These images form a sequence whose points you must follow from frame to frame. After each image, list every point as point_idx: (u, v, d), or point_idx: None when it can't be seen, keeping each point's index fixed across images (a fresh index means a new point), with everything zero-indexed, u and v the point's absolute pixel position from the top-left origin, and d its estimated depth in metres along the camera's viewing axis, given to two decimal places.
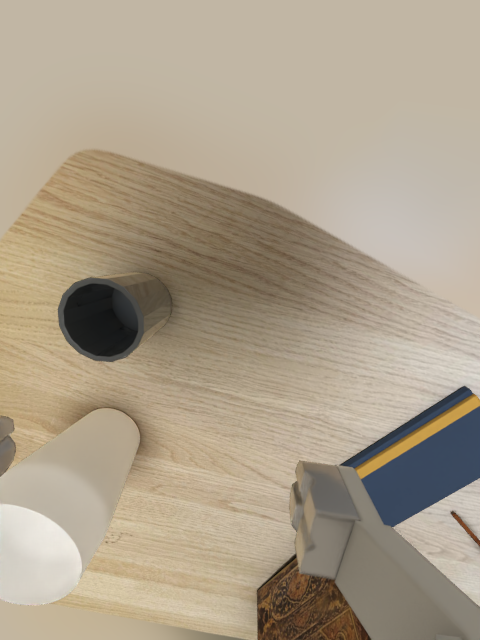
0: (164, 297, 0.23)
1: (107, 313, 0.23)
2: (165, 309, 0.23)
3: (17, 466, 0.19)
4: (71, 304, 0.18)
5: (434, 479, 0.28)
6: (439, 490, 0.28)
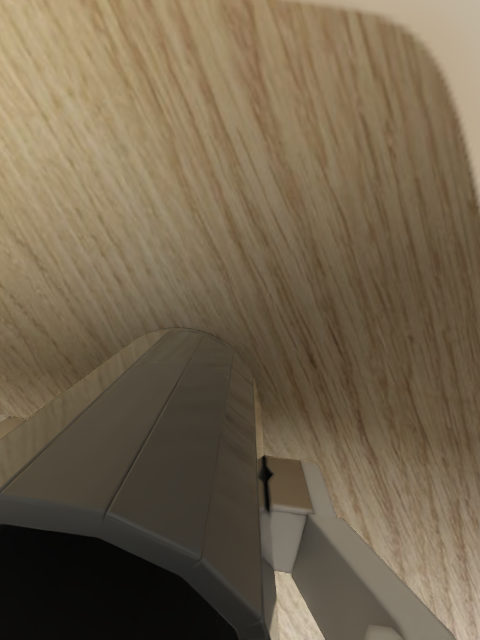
0: None
1: None
2: None
3: None
4: None
5: None
6: None
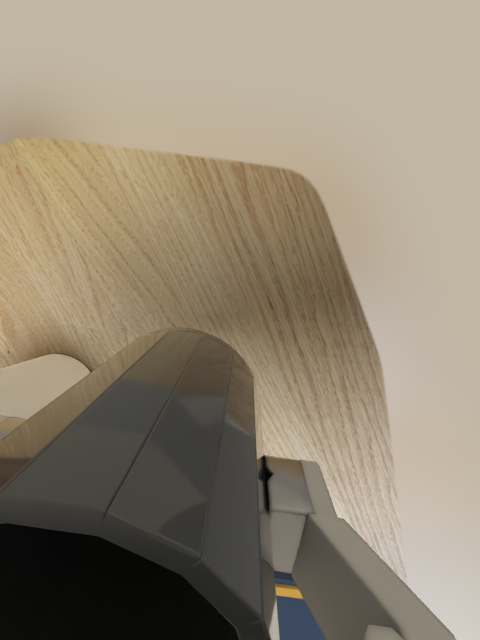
0: None
1: None
2: None
3: None
4: None
5: None
6: None
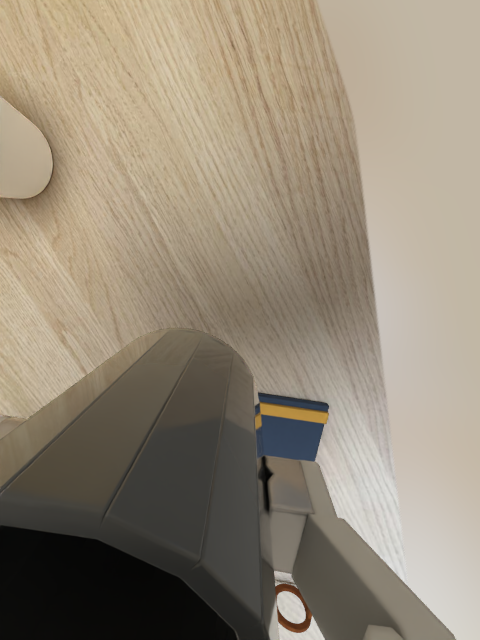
0: None
1: None
2: None
3: None
4: None
5: None
6: None
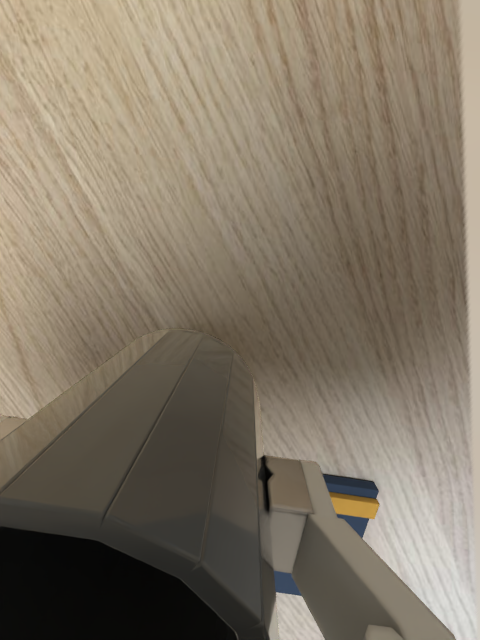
0: None
1: None
2: None
3: None
4: None
5: None
6: None
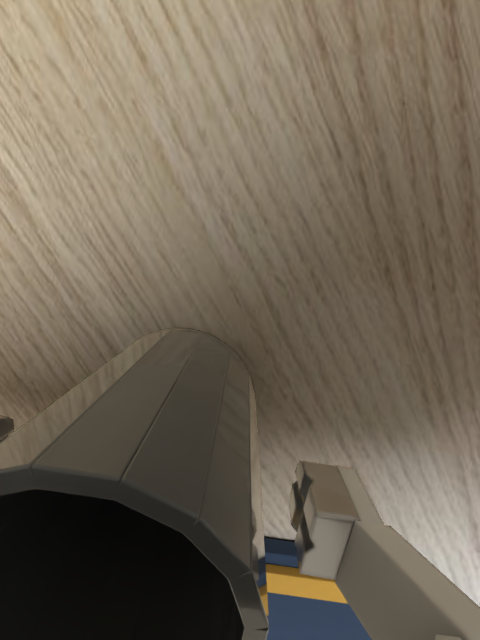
0: None
1: None
2: None
3: None
4: None
5: None
6: None
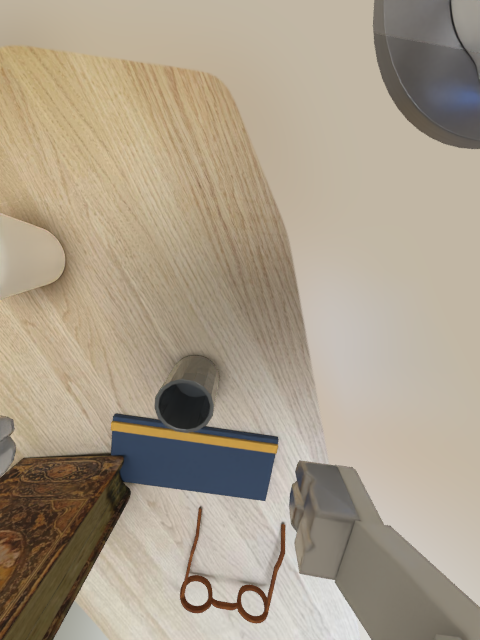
0: None
1: None
2: None
3: None
4: None
5: (210, 476, 0.36)
6: (207, 485, 0.36)
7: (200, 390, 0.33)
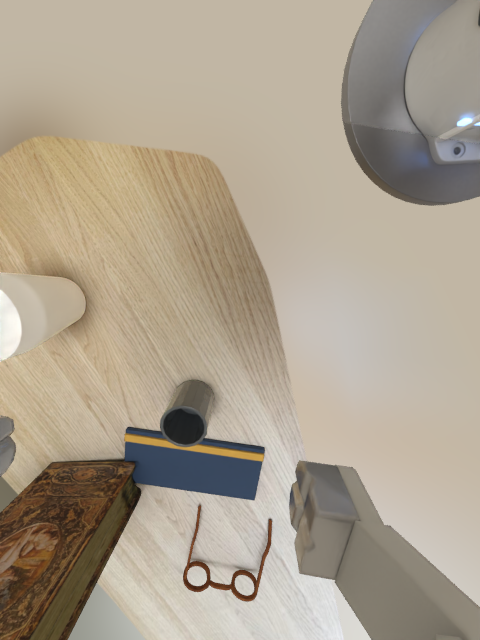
0: None
1: None
2: None
3: (16, 277, 0.27)
4: None
5: (208, 479, 0.42)
6: (204, 487, 0.43)
7: None
